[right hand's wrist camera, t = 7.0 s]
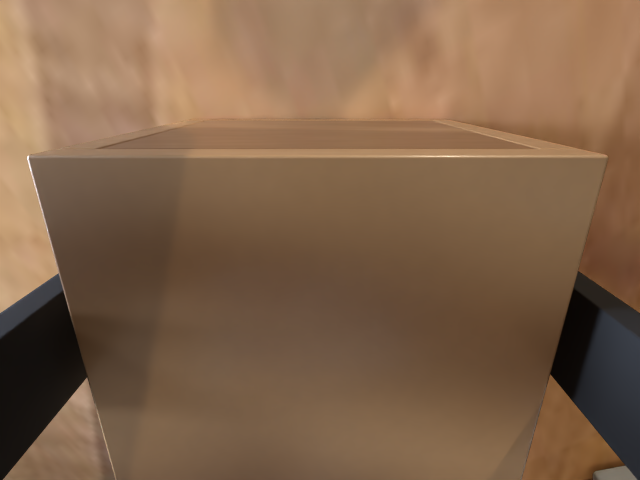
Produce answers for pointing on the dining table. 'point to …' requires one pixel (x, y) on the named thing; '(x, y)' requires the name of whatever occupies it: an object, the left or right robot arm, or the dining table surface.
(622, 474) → the hard drive box
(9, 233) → the dining table surface
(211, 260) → the cabinet
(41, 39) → the dining table surface
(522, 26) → the dining table surface
